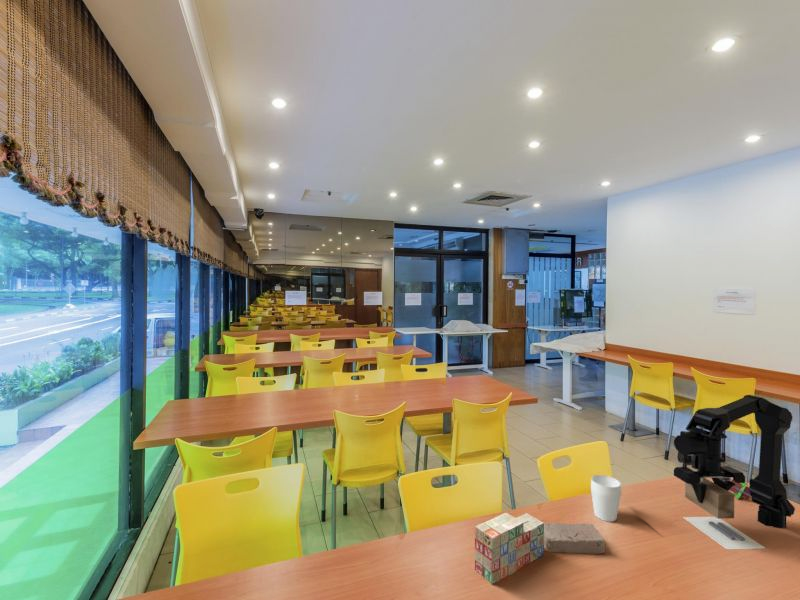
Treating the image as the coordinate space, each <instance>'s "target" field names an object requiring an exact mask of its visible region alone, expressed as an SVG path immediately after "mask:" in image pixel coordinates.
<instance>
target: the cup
mask: <svg viewBox="0 0 800 600" xmlns="http://www.w3.org/2000/svg"><path fill="white" fill-rule="evenodd" d="M590 479H591V480H590V491H591V499H592V506H593V514H594V516H595V517H596V518H598V519H599V520H602V521H604V522H611V523H612V522H615V521H617V519H618V512H619V507H620V502H621V496H622V490H621V489H622V488H621V487H622V486H621V485H622V484H621V482H620V481H619V480H618V479H616V478H614V477H612V476H608V475H604V474H596V475H593V476H591V477H590Z"/></svg>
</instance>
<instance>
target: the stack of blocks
mask: <svg viewBox="0 0 800 600" xmlns="http://www.w3.org/2000/svg"><path fill="white" fill-rule="evenodd" d="M544 523H545V522H543V521H541V520H539V519H538V518H536V517H534V516H532V515H531V514H529V513H527V512H526V513H524V514H522V515H519V516H517V517H514V516H513V515H511V514H509V513H508V512H504V513H502V514H500V515H496V516H495V517H493V518H492V519H491V518H490V519H489V520H487V521H485V522H482V523H480V524H477V525H475V527H474V528H475V531H474V532H475V535H474V553H475V554H474V571H475V570H476V571H477V572H476V571H475V572H476V573H478V574H479V573H480V574H481V575H482V576H483V577H482V576H481V575H480V574H479V575H480V576H481V577H482V578H483V579H485V578H486V579H487V580H488V581H489V582H490V583H489V582H488V581H487V580H486V579H485V580H486V581H487V582H488V583H489V584H490V585H494V584H496V583H497V582H500V581H501V580H503V579H505V578H506V577H509V576H510V575H512V574H514V573H516V572H517V571H518V570H520V569H522V568H523V567H525V566H527V565H528V564H529V563H532V562H534V561H535V560H537V559H539V558H541V557H543V556H544V554H545V546H544ZM496 581H497V582H496ZM495 582H496V583H495ZM493 583H494V584H493Z"/></svg>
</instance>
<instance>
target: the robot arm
mask: <svg viewBox="0 0 800 600" xmlns="http://www.w3.org/2000/svg"><path fill="white" fill-rule="evenodd" d="M752 414H754V421H755V423H756V425H757V427H758V429H760V443H759V444H760V445H759V462H758V475H756V476H755V477H753V478H750V479H749V491H750V496H751V497H750V498H751V501H752V502H753V503H754V504H756V505H758V510H757V522H758V523H760V524H762V525H764V526H765V527H772V528H774V529H775V528H776V529H784V528H785V529H787V530H788V531H791V532H792V530H790V529H788V528H787V518H788V517H789V518H790V517H792V515H794V514H795V511H796V508H795V506H794V505H793V504H792V503H791V501H790V500H788V494H787V493H788V492H787V489H786V487H785V486H784V484H783V483H782V481H781V466H782V451H783V450H782V449H783V447H782V446H783V436H784V434H785V433H786V432H787V431H789V429H790V428H791V425H792V421H793V414H792V412H791V411H790V410H789V409H788V408H787V407H782V406H780V405H778V404H775V403H773V402H771V401H769V400H767V399H766V398H764V397H761V396H757V395H753V394H745V395H744V396H743V397H742V398H739V399H737V400H734V401H732V402H729V403H727V404H724V405H722V406H720V407H705V408H700V409H697V410H696V411H695V412H694V414H693V416H692V417H691V419H690V421H689V422H688V424H687V425H686V427H685V430H686V431H685V430H682V431H680V433H679V435H677V436H675V438H674V440H673V445H674V448H675V449H676V451H677V461H678V462H679V463H682V464H683V466H676V467H675V468H674V469H673V476H674V477H675V478H677V479H679V480H681V481H682V482H684V483H685V482H686V483H688V484H691V485H692V487H693V489H694V492H695V494H696V497H697V499H698V501H699V502H700V503H702V502H703V500H704V496H705V492H706V488H707V485H706V484H705V483H703V479H704V478H706V479H712V482H713V483H715V484H716V485H718V486H720V487H722V488H724V489H725V490H727V491H729V492H730V488H731V487H732V486H735V483H733V482H731V481H732V480H734V481H735V482H736V483H746V476H745V474H744V473H743V472H742V471H740V470H738V469H736V468H734V467H732V466H730V465H728V466H724V465H723V466H722V463H725V462H726V459H725V458H724V457H722V439H723V440H724V439H727V438H728V436H727V435H726V434H725V433H723V432H725V431H726V430H728V429H729V428H730V427H731V423H733V422H734V421H737V420H739V419H742V418H744V417H746V416H749V415H752ZM687 466H691V468H689V467H687ZM693 469H694V470H693Z"/></svg>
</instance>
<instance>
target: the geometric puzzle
mask: <svg viewBox="0 0 800 600" xmlns="http://www.w3.org/2000/svg"><path fill="white" fill-rule="evenodd" d="M731 482H733V483H735V486H732V487H731V488H730V490H729V492H731V493H732V494H734V498H736V500H737V501H738V500H740V499H741V500H742V499H743V498H744V499H746V500H749V499H750V498H751V495H750V491H749V487H750V484H749V485H748V483H746V482H745V483H736V482H735V481H734V480H733V479H731ZM748 486H749V487H748ZM739 498H740V499H739Z"/></svg>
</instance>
